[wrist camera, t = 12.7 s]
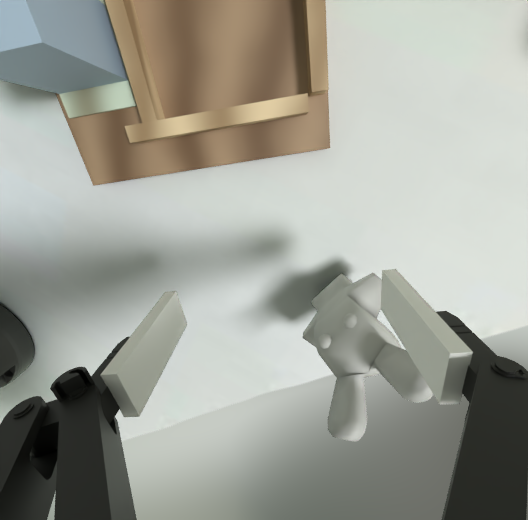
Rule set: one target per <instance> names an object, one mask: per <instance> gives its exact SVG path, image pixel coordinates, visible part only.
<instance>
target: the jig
mask: <svg viewBox="0 0 528 520" xmlns="http://www.w3.org/2000/svg"><path fill="white" fill-rule="evenodd" d="M99 1H101V2H102V3H103V4H104V5H105V6H106V9H107V13H108V16H109V19H110V22H111V26H112V29H113V32H114V36H115V39H116V42H117V45H118V49H119V52H120V55H121V58H122V62H123V65H124V68H125V71H126V75H127V78H128V80H127V81H122V82H117V83H112V84H107V85H102V86H97V87H92V88H87V89H82V90H77V91H72V92H67V93H62V94H57V93H56V96H57V98H58V101H59V103H60V106H61V108H62V110H63V113H64V115H65V118H66V120H67V123H68V125H69V127H70V130H71V132H72V135H73V137H74V140H75V142H76V144H77V147H78V149H79V152H80V154H81V156H82V159H83V161H84V164H85V166H86V169H87V171H88V173H89V176H90V178H91V181H92V183H93V185H99V184H105V183H112V182H118V181H124V180H131V179H137V178H143V177H150V176H156V175H162V174H169V173H175V172H181V171H188V170H194V169H200V168H207V167H213V166H219V165H226V164H232V163H238V162H245V161H251V160H257V159H264V158H270V157H276V156H283V155H289V154H295V153H302V152H308V151H314V150H321V149H327V148H330V135H329V107H328V62H327V34H326V6H325V0H99Z"/></svg>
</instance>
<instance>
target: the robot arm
mask: <svg viewBox="0 0 528 520" xmlns="http://www.w3.org/2000/svg"><path fill="white" fill-rule="evenodd" d="M381 310H382V311H383V313H384V315H385V316H386V318H387V320H388V321H389V323H390V324H391V326H392V328H393V329H394V331H395V333H396V334H397V336H398V337H399V339H400V341H401V342H402V344H403V346H404V347H405V349H406V350H407V352H408V354H409V355H410V357H411V359H412V360H413V362H414V364H415V365H416V367H417V368H418V370H419V372H420V373H421V375H422V377H423V378H424V380H425V381H426V383H427V385H428V386H429V388H430V390H431V391H432V393H433V394H434V396H435V398H436V399H437V401H438V403H439V404H460V401H461V397H462V393H463V394H464V396H465V397H466V398H467V400H468V401H469V407H468V411H467V414H466V418H465V424H464V428H463V432H462V436H461V440H460V445H459V449H458V453H457V458H456V461H455V465H454V470H453V474H452V478H451V482H450V486H449V491H448V495H447V499H446V503H445V507H444V511H443V516H442V520H526V507H527V480H528V371H527V370H526V369H525V368H524V367H523V366H521V365H519V364H518V363H516V362H514V361H512V360H510V359H507V358H504V357H500V356H497V355H496V354H495V353H494V352H493V351H492V350H490V348H489V347H488V346H487V345H485V344H484V343H483V342H482V341H481V340H480V339H479V338H478V337H477V336H476V335H475V334H474V333H472V331H471V330H470V329H469V328H468V327H466V326H465V324H464V323H463V322H462V321H461V320H460V319H459V318H458V317H456V316H454V315H452V314H451V313H449V312H447V311H440V312H435V311H434V310H433V309H432V308H431V306H430V305H429V304H428V303H427V302H426V301H425V300H424V299H423V298H422V297H421V296H420V295H419V294H418V292H417V291H416V290H415V289H414V288H413V287H412V286H411V285H410V284H409V283H408V282H407V281H406V280H405V279H404V277H403V276H402V275H401V274H400V273H399V272H398V271H397V270H396V269H392V270H382V289H381ZM186 326H187V322H186V319H185V316H184V313H183V310H182V307H181V304H180V301H179V298H178V295H177V292H176V291H172V292H165V293H164V294H163V296H162V297H161V298H160V299H159V301H158V302H157V303H156V305H155V306H154V307H153V308H152V310H151V311H150V312H149V313H148V315H147V316H146V317H145V319H144V320H143V321H142V322H141V324H140V325H139V326H138V327H137V329H136V330H135V331H134V333H133V334H132V335H131V336H130V337H126V338H125V339H124V340H122V341H121V342H120V343H119V344H117V346H116V347H115V348H114V349H113V351H112V353H110V354H109V355H108V357H107V359H105V360H104V362H103V363H102V364H101V365H100V366H99V368H98V369H97V370H96V371H95V373H94V374H93V375H92V376H90V374H89V373H88V371H87V369H86V368H85V367H77V368H74V369H71V370H69V371H67V372H65V373H64V374H62V375H61V376H60V377H58V378H57V379H56V380H55V381H54V383H53V384H52V386H51V388H50V389H51V390H52V392H53V393H54V395H55V396H56V397H57V400H54V401H51V402H48V403H45V401H44V400H43V399H42V398H41V397H39V396H35V397H32V398H29V399H27V400H25V401H22V402H21V403H20V404H18V405H16V406H15V407H14V408H13V409H12V410H11V411H9V412H8V414H7V415H6V416H5V418H4V419H3V421H2V423H1V424H0V520H47V517H48V514H49V510H50V507H51V504H52V501H53V497H54V494H55V490H56V498H55V499H56V500H55V520H137V519H136V514H135V510H134V505H133V499H132V494H131V488H130V484H129V478H128V473H127V468H126V463H125V458H124V453H123V448H122V442H121V437H120V432H119V427H118V422H117V420H116V418H115V415H116V414H117V412H118V410H119V409H120V411H121V412H122V414H123V416H124V417H139V416H140V414H141V412H142V411H143V409H144V407H145V405H146V403H147V401H148V399H149V397H150V395H151V393H152V391H153V389H154V387H155V386H156V384H157V382H158V380H159V378H160V376H161V374H162V372H163V370H164V368H165V366H166V364H167V362H168V361H169V359H170V357H171V355H172V353H173V351H174V349H175V347H176V345H177V343H178V341H179V339H180V338H181V336H182V334H183V332H184V330H185V328H186ZM33 358H34V346H33V342H32V340H31V337H30V335H29V334H28V332H27V330H26V329H25V327H24V326H23V325H22V324H21V322H20V321H19V320H18V319H17V318H16V317H15V316H14V315H13V314H12V313H10V312H9V311H8V310H7V309H5V308H4V307H3V306H1V305H0V388H1V387H3V386H5V385H7V384H8V383H10V382H11V381H13V380H14V379H15V378H17V377H18V376H19V375H20V374H21V373H22V372H23V371H24V370H26V369H27V368H28V367H29V366H30V364H31V363H32V361H33Z"/></svg>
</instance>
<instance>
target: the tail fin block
mask: <svg viewBox="0 0 528 520" xmlns="http://www.w3.org/2000/svg"><path fill="white" fill-rule="evenodd" d="M0 80H3V81H7V82H11V83H15V84H19V85H24V86H28V87H32V88H36V89H40V90H45V91H49V92H53V93H57V94H62V93H67V92H72V91H77V90H82V89H87V88H92V87H97V86H102V85H107V84H112V83H117V82H122V81H127V80H128V78H127V75H126V71H125V68H124V65H123V62H122V58H121V55H120V52H119V49H118V45H117V42H116V39H115V36H114V32H113V29H112V26H111V22H110V19H109V16H108V13H107V9H106V6H105V5H104V4H103V3H102V2H101V1H99V0H0Z"/></svg>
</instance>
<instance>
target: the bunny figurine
mask: <svg viewBox="0 0 528 520" xmlns="http://www.w3.org/2000/svg"><path fill="white" fill-rule="evenodd" d="M381 289H382V280H381V279H380V278H379V277H378V276H377V275H375V274H374V273H371V274H370V275H368V276H366V277H364V278H362V279H360V280H358V281H357V282H355V283H352V281H351V280H350V279H348V278H347V277H346V276H345V275H344V274H342V273H341V274H340V275H339V276H338V277H337V278H335V279H334V280H333V281H332V282H331V283H330V284H329V285H328V286H327V287H326V288H324V289H323V290H322V291H321V292H320V293H319V294H318V295H317V296H316V297H315V298H314V299H313V300H312V301H311V304H312V306H314V307H315V308H316V309H317V310H318V311H317V313H316V315H315V316H314V318H313V319H312V321H311V322H310V324H309V325H308V327H307V328H306V329H305V331H304V332H303V339H305V340H306V341H308V342H309V343H311V344H312V345H313V346H315V347H316V348H317V351H318V353H319V355H320V356H321V358H322V359H323V360H324V362H325V363H326V364H327V366H328V367H329V368H330V369H331V371H332V372H333V373H334V375H335V376H336V377H337V380H336V384H335V389H334V394H333V398H332V402H331V407H330V411H329V416H328V430H329V432H330V433H331V435H332V436H333V437H335V438H340V439H344V440H348V441H358V440H359V439H360V438H361V437H362V436H363V434H364V432H365V430H366V424H367V413H366V412H367V411H366V399H365V385H364V378H366V377H371V376H375V375H379V374H382V376H383V377H384V378H385V379H386V380H387V381H388V382H389V383H390V384H391V385H392V386H393V387H394V389H395V390H396V391H397V392H398V393H399V394H400V395H401V396H402V397H403V398H404V399H406V400H409V401H411V402H413V403H414V402H424V401H426V400H429V399H430V398H431V397H432V395H433V393H432V391H431V390H430V388H429V386H428V385H427V383H426V381H425V380H424V378H423V377H422V375H421V373H420V372H419V370H418V368H417V367H416V365H415V364H414V362H413V360H412V359H411V357H410V355H409V354H408V352H407V351H406V350H404V349H401V346H400V344H399V342H398V340H397V339H396V337H395V336H394V335H393V333H392V332H391V331H390V330H389V329H388V328H387V327H386V326H385V325H383V324H382V323H381V322H380V321H378V320H377V316H378V314H379V312H380V310H381Z"/></svg>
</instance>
